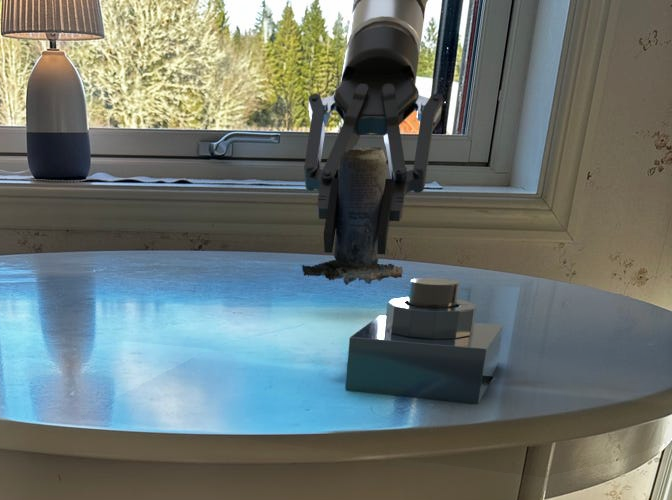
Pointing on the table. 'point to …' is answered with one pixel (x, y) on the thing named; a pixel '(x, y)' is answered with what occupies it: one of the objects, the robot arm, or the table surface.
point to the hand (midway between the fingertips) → (354, 243)
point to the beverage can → (358, 220)
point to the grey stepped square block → (424, 353)
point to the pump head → (433, 293)
